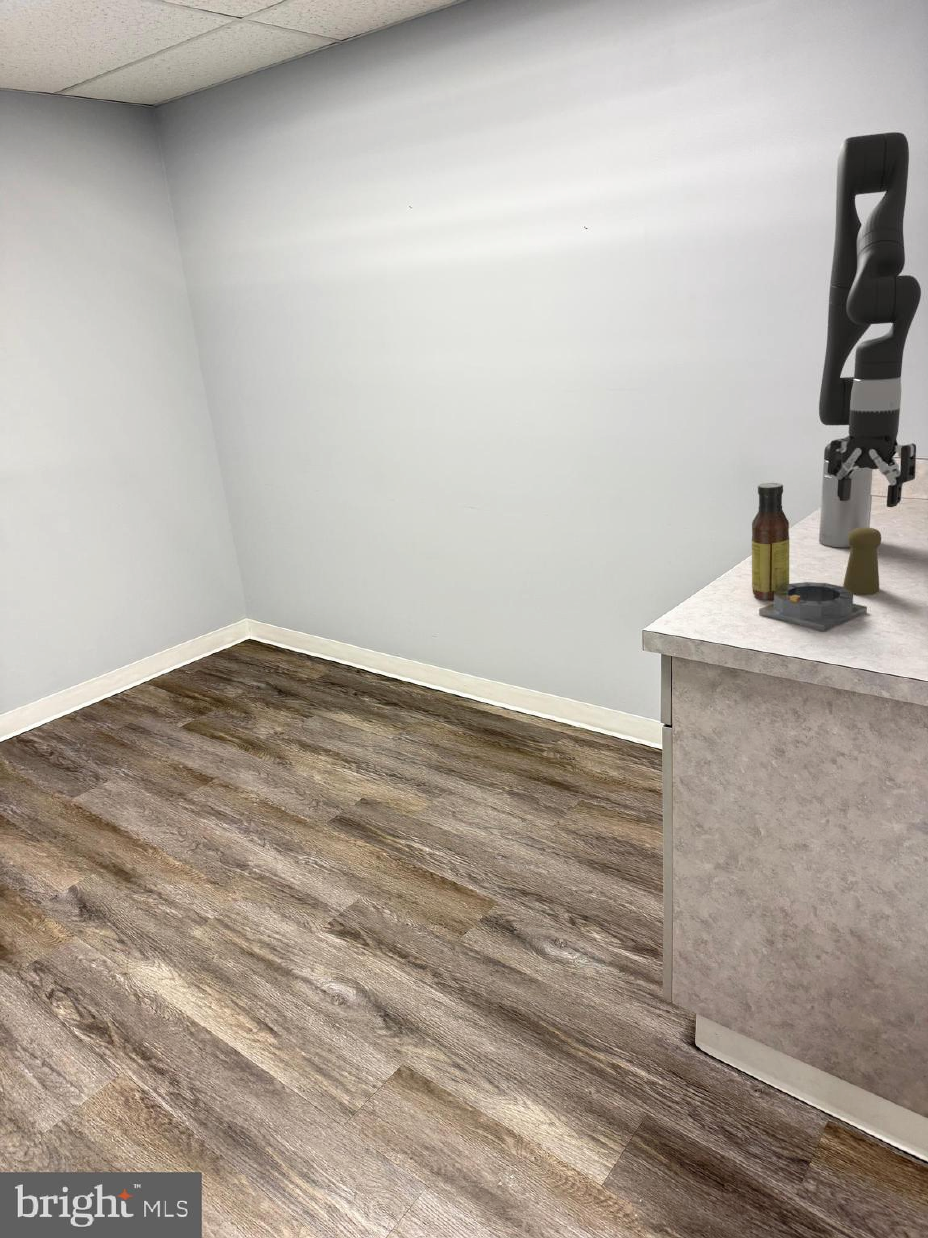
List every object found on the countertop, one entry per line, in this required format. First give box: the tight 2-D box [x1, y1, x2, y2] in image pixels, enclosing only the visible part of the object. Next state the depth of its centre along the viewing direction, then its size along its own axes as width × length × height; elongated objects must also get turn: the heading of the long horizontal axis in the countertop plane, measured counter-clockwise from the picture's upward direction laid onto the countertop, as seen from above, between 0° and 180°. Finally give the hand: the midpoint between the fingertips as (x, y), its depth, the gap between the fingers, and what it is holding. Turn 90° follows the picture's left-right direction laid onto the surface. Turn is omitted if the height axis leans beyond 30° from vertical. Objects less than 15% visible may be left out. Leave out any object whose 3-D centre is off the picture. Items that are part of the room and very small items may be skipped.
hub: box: [758, 581, 868, 633], centre depth 148 cm, size 12×12×4 cm
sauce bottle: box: [751, 482, 790, 601], centre depth 155 cm, size 6×6×20 cm
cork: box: [842, 527, 882, 596], centre depth 156 cm, size 6×6×11 cm
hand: (867, 503), depth 153 cm, fingers open, 8 cm apart
